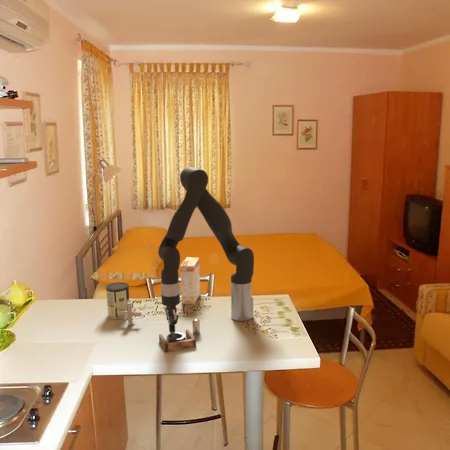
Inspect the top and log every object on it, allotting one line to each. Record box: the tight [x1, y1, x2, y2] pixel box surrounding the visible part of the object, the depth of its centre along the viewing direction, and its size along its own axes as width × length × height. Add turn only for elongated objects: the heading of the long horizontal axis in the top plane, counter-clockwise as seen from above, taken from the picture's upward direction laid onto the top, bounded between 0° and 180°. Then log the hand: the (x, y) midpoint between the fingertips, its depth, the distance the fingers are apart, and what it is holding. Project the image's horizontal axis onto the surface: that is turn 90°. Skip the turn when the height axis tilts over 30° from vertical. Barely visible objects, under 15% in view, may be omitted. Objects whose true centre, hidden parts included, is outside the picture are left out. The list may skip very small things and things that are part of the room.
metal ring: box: [166, 331, 186, 343], centre depth 192 cm, size 7×7×3 cm
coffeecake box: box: [179, 256, 201, 305], centre depth 239 cm, size 15×7×20 cm, turn 172°
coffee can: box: [105, 281, 130, 320], centre depth 220 cm, size 10×10×14 cm
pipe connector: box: [118, 301, 142, 326], centre depth 209 cm, size 10×10×10 cm
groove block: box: [158, 329, 197, 353], centre depth 191 cm, size 12×10×3 cm
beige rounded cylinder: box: [191, 318, 201, 336], centre depth 200 cm, size 3×3×6 cm
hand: (172, 331), depth 199 cm, fingers closed
